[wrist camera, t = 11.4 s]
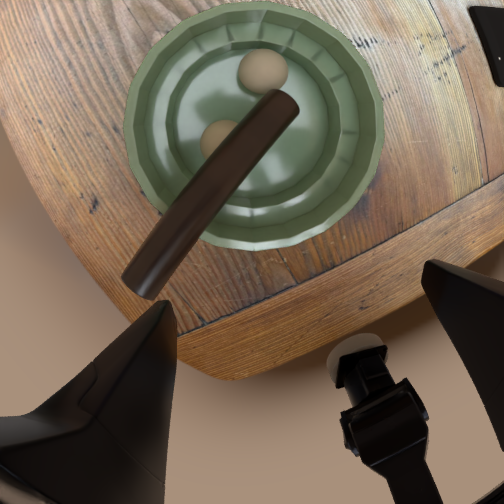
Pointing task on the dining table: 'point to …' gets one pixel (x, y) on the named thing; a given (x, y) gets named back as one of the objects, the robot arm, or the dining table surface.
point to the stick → (208, 193)
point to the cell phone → (491, 37)
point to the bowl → (240, 103)
